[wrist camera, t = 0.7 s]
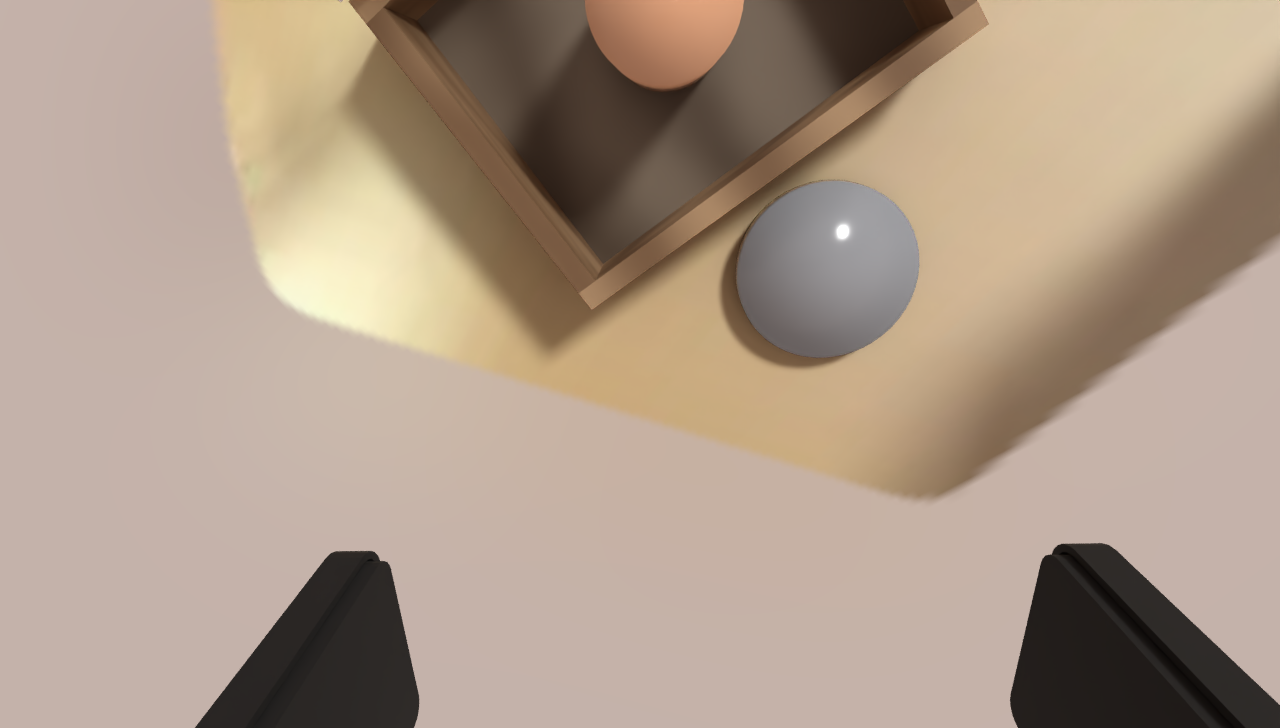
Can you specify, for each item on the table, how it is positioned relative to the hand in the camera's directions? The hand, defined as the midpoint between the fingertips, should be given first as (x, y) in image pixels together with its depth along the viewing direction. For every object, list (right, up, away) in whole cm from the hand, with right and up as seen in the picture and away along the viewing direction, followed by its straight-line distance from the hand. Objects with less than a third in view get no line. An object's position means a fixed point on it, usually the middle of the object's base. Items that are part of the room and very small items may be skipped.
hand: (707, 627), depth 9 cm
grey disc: (+9, +9, +24) cm, 26 cm away
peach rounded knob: (0, +19, +20) cm, 27 cm away
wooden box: (0, +19, +20) cm, 28 cm away
